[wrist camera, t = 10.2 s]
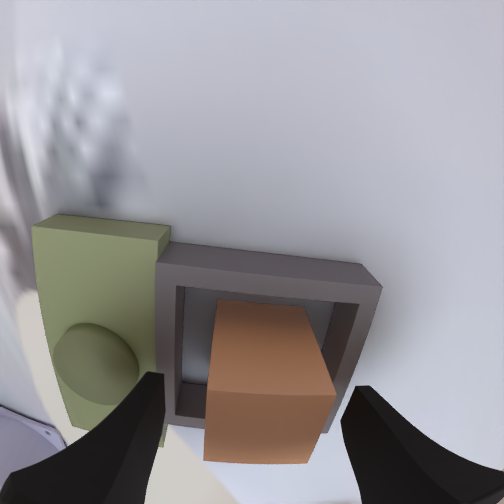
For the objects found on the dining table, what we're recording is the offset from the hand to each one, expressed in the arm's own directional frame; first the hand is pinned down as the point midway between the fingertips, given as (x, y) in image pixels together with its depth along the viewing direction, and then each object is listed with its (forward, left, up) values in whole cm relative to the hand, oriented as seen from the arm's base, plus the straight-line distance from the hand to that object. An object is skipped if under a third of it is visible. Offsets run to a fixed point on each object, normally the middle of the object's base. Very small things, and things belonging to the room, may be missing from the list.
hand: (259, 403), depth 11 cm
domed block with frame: (-3, -1, -5) cm, 5 cm away
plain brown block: (0, 0, -5) cm, 5 cm away
